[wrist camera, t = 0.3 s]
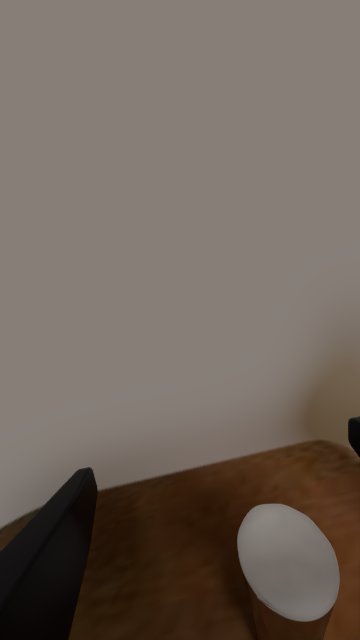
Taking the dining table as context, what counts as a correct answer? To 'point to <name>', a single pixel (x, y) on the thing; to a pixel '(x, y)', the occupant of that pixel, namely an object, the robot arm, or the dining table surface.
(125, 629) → the dining table surface
